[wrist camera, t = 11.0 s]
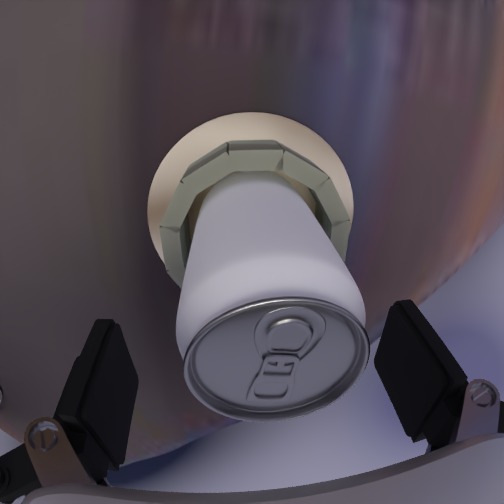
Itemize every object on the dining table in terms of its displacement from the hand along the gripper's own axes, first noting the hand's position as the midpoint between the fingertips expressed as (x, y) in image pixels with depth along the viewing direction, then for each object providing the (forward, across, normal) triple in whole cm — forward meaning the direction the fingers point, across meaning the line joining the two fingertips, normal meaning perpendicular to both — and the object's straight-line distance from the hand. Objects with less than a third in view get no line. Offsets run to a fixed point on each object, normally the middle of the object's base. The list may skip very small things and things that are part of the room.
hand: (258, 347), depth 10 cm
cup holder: (+12, -1, 0) cm, 12 cm away
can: (+11, -1, 0) cm, 11 cm away
